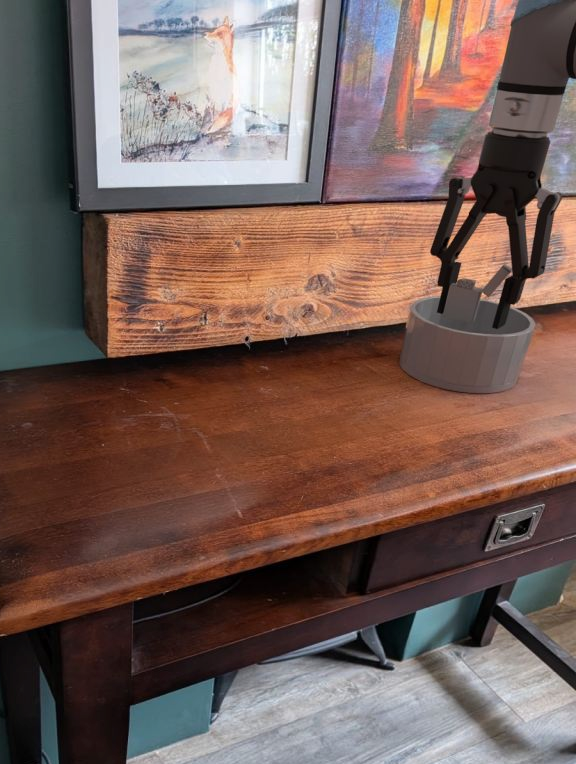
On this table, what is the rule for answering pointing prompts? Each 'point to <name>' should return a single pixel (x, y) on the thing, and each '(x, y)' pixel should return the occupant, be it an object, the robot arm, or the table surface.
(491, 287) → the lighter
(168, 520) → the table surface
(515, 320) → the canister
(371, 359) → the table surface
